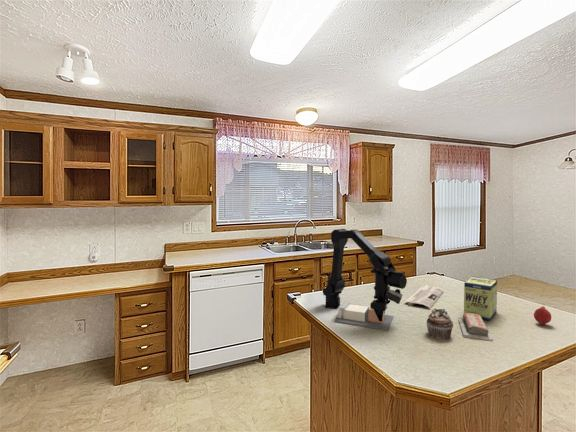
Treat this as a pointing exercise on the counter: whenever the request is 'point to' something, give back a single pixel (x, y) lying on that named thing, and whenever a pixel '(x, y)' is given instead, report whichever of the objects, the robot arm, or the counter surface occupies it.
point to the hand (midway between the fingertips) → (381, 319)
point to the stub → (373, 316)
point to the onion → (542, 315)
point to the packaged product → (474, 327)
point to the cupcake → (439, 324)
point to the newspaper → (425, 296)
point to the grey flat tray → (360, 317)
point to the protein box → (481, 297)
